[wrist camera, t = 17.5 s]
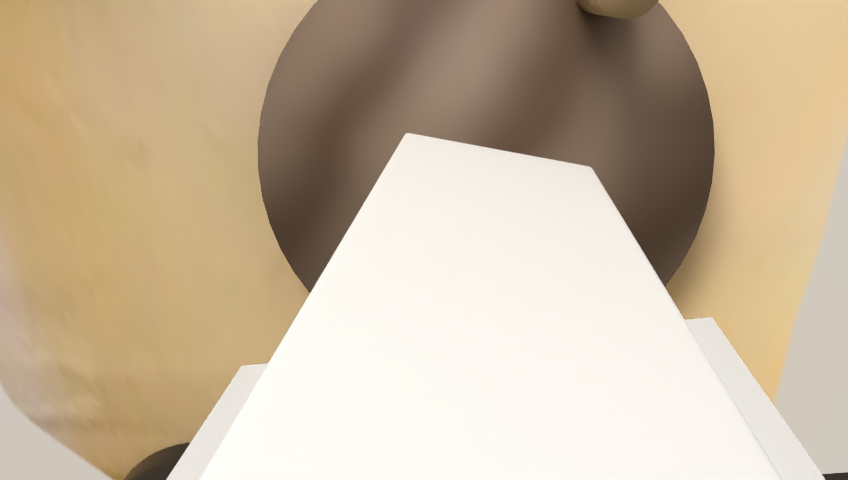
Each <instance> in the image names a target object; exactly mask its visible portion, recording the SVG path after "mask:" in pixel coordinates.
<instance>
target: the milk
mask: <svg viewBox="0 0 848 480" xmlns="http://www.w3.org/2000/svg"><path fill="white" fill-rule="evenodd" d="M199 480H782V478H781V477H780V475H779V474H778V472H777V470H776V469H775V467H774V465H773V464H772V462H771V460H770V459H769V457H768V456H767V454H766V452H765V451H764V449H763V447H762V446H761V444H760V442H759V441H758V439H757V437H756V436H755V434H754V433H753V431H752V429H751V428H750V426H749V424H748V423H747V421H746V419H745V418H744V416H743V415H742V413H741V411H740V410H739V408H738V406H737V405H736V403H735V401H734V400H733V398H732V397H731V395H730V393H729V392H728V390H727V388H726V387H725V385H724V383H723V382H722V380H721V378H720V377H719V375H718V374H717V372H716V370H715V369H714V367H713V365H712V364H711V362H710V360H709V359H708V357H707V356H706V354H705V352H704V351H703V349H702V347H701V346H700V344H699V342H698V341H697V339H696V338H695V336H694V334H693V333H692V331H691V329H690V328H689V326H688V324H687V323H686V321H685V320H684V318H683V316H682V315H681V313H680V311H679V310H678V308H677V306H676V305H675V303H674V301H673V300H672V298H671V297H670V295H669V293H668V292H667V290H666V288H665V287H664V285H663V283H662V282H661V280H660V279H659V277H658V275H657V274H656V272H655V270H654V269H653V267H652V265H651V264H650V262H649V261H648V259H647V257H646V256H645V254H644V252H643V251H642V249H641V247H640V246H639V244H638V242H637V241H636V239H635V238H634V236H633V234H632V233H631V231H630V229H629V228H628V226H627V224H626V223H625V221H624V220H623V218H622V216H621V215H620V213H619V211H618V210H617V208H616V206H615V205H614V203H613V202H612V200H611V198H610V197H609V195H608V193H607V192H606V190H605V188H604V187H603V185H602V184H601V182H600V180H599V179H598V177H597V175H596V174H595V172H594V170H593V169H592V168H591V167H589V166H584V165H579V164H573V163H568V162H563V161H557V160H552V159H546V158H541V157H536V156H530V155H525V154H519V153H514V152H509V151H503V150H498V149H493V148H487V147H482V146H476V145H471V144H466V143H460V142H455V141H449V140H444V139H439V138H433V137H428V136H422V135H417V134H411V133H406V134H405V135H404V137H403V138H402V140H401V142H400V144H399V145H398V147H397V149H396V150H395V152H394V154H393V155H392V157H391V159H390V160H389V162H388V164H387V165H386V167H385V169H384V170H383V172H382V174H381V175H380V177H379V179H378V180H377V182H376V184H375V185H374V187H373V189H372V190H371V192H370V194H369V195H368V197H367V199H366V200H365V202H364V204H363V206H362V207H361V209H360V211H359V212H358V214H357V216H356V217H355V219H354V221H353V222H352V224H351V226H350V227H349V229H348V231H347V232H346V234H345V236H344V237H343V239H342V241H341V242H340V244H339V246H338V247H337V249H336V251H335V252H334V254H333V256H332V257H331V259H330V261H329V262H328V264H327V266H326V268H325V269H324V271H323V273H322V274H321V276H320V278H319V279H318V281H317V283H316V284H315V286H314V288H313V289H312V291H311V293H310V294H309V296H308V298H307V299H306V301H305V303H304V304H303V306H302V308H301V309H300V311H299V313H298V314H297V316H296V318H295V319H294V321H293V323H292V324H291V326H290V328H289V330H288V331H287V333H286V335H285V336H284V338H283V340H282V341H281V343H280V345H279V346H278V348H277V350H276V351H275V353H274V355H273V356H272V358H271V360H270V361H269V363H268V365H267V366H266V368H265V370H264V371H263V373H262V375H261V376H260V378H259V380H258V381H257V383H256V385H255V386H254V388H253V390H252V392H251V393H250V395H249V397H248V398H247V400H246V402H245V403H244V405H243V407H242V408H241V410H240V412H239V413H238V415H237V417H236V418H235V420H234V422H233V423H232V425H231V427H230V428H229V430H228V432H227V433H226V435H225V437H224V438H223V440H222V442H221V443H220V445H219V447H218V449H217V450H216V452H215V454H214V455H213V457H212V459H211V460H210V462H209V464H208V465H207V467H206V469H205V470H204V472H203V474H202V475H201V477H200V479H199Z"/></svg>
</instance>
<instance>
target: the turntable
mask: <svg viewBox="0 0 848 480" xmlns="http://www.w3.org/2000/svg"><path fill="white" fill-rule="evenodd" d="M406 133H411V134H417V135H422V136H428V137H433V138H439V139H444V140H449V141H455V142H460V143H466V144H471V145H476V146H482V147H487V148H493V149H498V150H503V151H509V152H514V153H519V154H525V155H530V156H536V157H541V158H546V159H552V160H557V161H563V162H568V163H573V164H579V165H584V166H589V167H591V168H592V169H593V170H594V172H595V174H596V175H597V177H598V179H599V180H600V182H601V184H602V185H603V187H604V188H605V190H606V192H607V193H608V195H609V197H610V198H611V200H612V202H613V203H614V205H615V206H616V208H617V210H618V211H619V213H620V215H621V216H622V218H623V220H624V221H625V223H626V224H627V226H628V228H629V229H630V231H631V233H632V234H633V236H634V238H635V239H636V241H637V242H638V244H639V246H640V247H641V249H642V251H643V252H644V254H645V256H646V257H647V259H648V261H649V262H650V264H651V265H652V267H653V269H654V270H655V272H656V274H657V275H658V277H659V279H660V280H661V282H662V283H663V285H664V287H665V286H666V284H667V283H668V281H669V280H670V279H671V277H672V276H673V274H674V273H675V272H676V270H677V269H678V267H679V266H680V265H681V263H682V261H683V259H684V257H685V256H686V254H687V252H688V250H689V248H690V246H691V244H692V243H693V241H694V239H695V236H696V234H697V231H698V228H699V226H700V223H701V221H702V218H703V215H704V213H705V209H706V205H707V201H708V196H709V192H710V188H711V183H712V174H713V163H714V153H715V152H714V131H713V119H712V114H711V108H710V103H709V98H708V93H707V89H706V86H705V84H704V81H703V78H702V75H701V72H700V69H699V66H698V63H697V61H696V59H695V57H694V55H693V53H692V51H691V49H690V47H689V45H688V44H687V42H686V40H685V38H684V36H683V34H682V32H681V31H680V30H679V28H678V27H677V26H676V24H675V23H674V21H673V20H672V19H671V17H670V16H669V14H668V13H667V12H666V10H665V9H664V8H663V6H662V5H661V4H660V3H659V2H658V0H318V1H317V2H316V3H315V4H314V5H313V7H312V8H311V9H310V10H309V12H308V13H307V14H306V16H305V17H304V18H303V20H302V21H301V22H300V24H299V25H298V26H297V27H296V29H295V30H294V32H293V34H292V35H291V37H290V39H289V41H288V42H287V44H286V46H285V48H284V49H283V51H282V53H281V55H280V57H279V59H278V61H277V64H276V66H275V69H274V71H273V74H272V76H271V79H270V82H269V84H268V88H267V92H266V96H265V100H264V104H263V108H262V112H261V119H260V128H259V137H258V170H259V177H260V184H261V190H262V197H263V201H264V204H265V208H266V211H267V215H268V218H269V222H270V225H271V227H272V230H273V232H274V234H275V237H276V239H277V241H278V244H279V246H280V248H281V250H282V252H283V254H284V255H285V257H286V259H287V261H288V262H289V264H290V266H291V267H292V269H293V271H294V273H295V274H296V275H297V277H298V278H299V279H300V280H301V282H302V283H303V284H304V286H305V287H306V288H307V290H308V291H309V292H310V293H311V291H312V289H313V288H314V286H315V284H316V283H317V281H318V279H319V278H320V276H321V274H322V273H323V271H324V269H325V268H326V266H327V264H328V262H329V261H330V259H331V257H332V256H333V254H334V252H335V251H336V249H337V247H338V246H339V244H340V242H341V241H342V239H343V237H344V236H345V234H346V232H347V231H348V229H349V227H350V226H351V224H352V222H353V221H354V219H355V217H356V216H357V214H358V212H359V211H360V209H361V207H362V206H363V204H364V202H365V200H366V199H367V197H368V195H369V194H370V192H371V190H372V189H373V187H374V185H375V184H376V182H377V180H378V179H379V177H380V175H381V174H382V172H383V170H384V169H385V167H386V165H387V164H388V162H389V160H390V159H391V157H392V155H393V154H394V152H395V150H396V149H397V147H398V145H399V144H400V142H401V140H402V138H403V137H404V135H405V134H406Z"/></svg>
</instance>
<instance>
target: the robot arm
mask: <svg viewBox="0 0 848 480" xmlns="http://www.w3.org/2000/svg"><path fill="white" fill-rule="evenodd" d="M685 321H686V323H687V324H688V326H689V328H690V329H691V331H692V333H693V334H694V336H695V338H696V339H697V341H698V342H699V344H700V346H701V347H702V349H703V351H704V352H705V354H706V356H707V357H708V359H709V360H710V362H711V364H712V365H713V367H714V369H715V370H716V372H717V374H718V375H719V377H720V378H721V380H722V382H723V383H724V385H725V387H726V388H727V390H728V392H729V393H730V395H731V397H732V398H733V400H734V401H735V403H736V405H737V406H738V408H739V410H740V411H741V413H742V415H743V416H744V418H745V419H746V421H747V423H748V424H749V426H750V428H751V429H752V431H753V433H754V434H755V436H756V437H757V439H758V441H759V442H760V444H761V446H762V447H763V449H764V451H765V452H766V454H767V456H768V457H769V459H770V460H771V462H772V464H773V465H774V467H775V469H776V470H777V472H778V474H779V475H780V477H781V478H782V480H848V473H833V474H821V472H820V471H819V470H818V468H817V467H816V465H815V464H814V463H813V461H812V460H811V458H810V457H809V455H808V454H807V452H806V451H805V450H804V448H803V447H802V445H801V444H800V443H799V441H798V440H797V438H796V437H795V435H794V434H793V432H792V431H791V430H790V428H789V427H788V425H787V424H786V423H785V421H784V420H783V418H782V417H781V416H780V414H779V412H778V411H777V410H776V408H775V407H774V405H773V404H772V402H771V401H770V400H769V398H768V397H767V395H766V394H765V392H764V391H763V390H762V388H761V387H760V385H759V384H758V382H757V381H756V380H755V378H754V377H753V375H752V374H751V372H750V371H749V370H748V368H747V367H746V365H745V364H744V362H743V361H742V360H741V358H740V357H739V355H738V354H737V352H736V351H735V350H734V348H733V347H732V345H731V344H730V342H729V341H728V340H727V338H726V337H725V335H724V334H723V332H722V331H721V330H720V328H719V327H718V325H717V324H716V322H715V321H714V320H713V318H712V317H709V318H699V319H689V320H685ZM267 365H268V363H265V364H255V365H246V366H241V368H240V369H239V371H238V372H237V374H236V375H235V377H234V378H233V380H232V381H231V383H230V384H229V386H228V387H227V389H226V390H225V392H224V393H223V395H222V396H221V398H220V399H219V401H218V402H217V404H216V405H215V407H214V408H213V410H212V411H211V413H210V414H209V416H208V417H207V419H206V420H205V422H204V423H203V425H202V426H201V428H200V429H199V431H198V432H197V434H196V435H195V437H194V438H193V440H192V441H191V443H185V444H179V445H175V446H172V447H168V448H166V449H163V450H161V451H158V452H156V453H154V454H152V455H150V456H149V457H147V458H146V459H144V460H143V461H141V462H140V463H139V464H138V465H136V466H135V467H134V468H133V469H132V470H131V471H130V472H129V474H128V475H127V476H126V477H125V479H124V480H199V479H200V477H201V475H202V474H203V472H204V470H205V469H206V467H207V465H208V464H209V462H210V460H211V459H212V457H213V455H214V454H215V452H216V450H217V449H218V447H219V445H220V443H221V442H222V440H223V438H224V437H225V435H226V433H227V432H228V430H229V428H230V427H231V425H232V423H233V422H234V420H235V418H236V417H237V415H238V413H239V412H240V410H241V408H242V407H243V405H244V403H245V402H246V400H247V398H248V397H249V395H250V393H251V392H252V390H253V388H254V386H255V385H256V383H257V381H258V380H259V378H260V376H261V375H262V373H263V371H264V370H265V368H266V366H267Z"/></svg>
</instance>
